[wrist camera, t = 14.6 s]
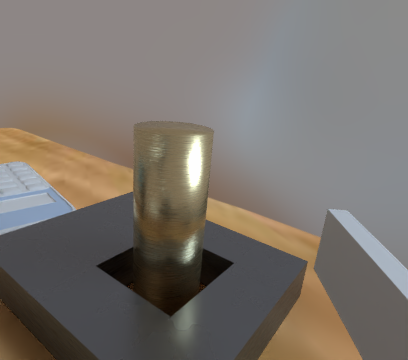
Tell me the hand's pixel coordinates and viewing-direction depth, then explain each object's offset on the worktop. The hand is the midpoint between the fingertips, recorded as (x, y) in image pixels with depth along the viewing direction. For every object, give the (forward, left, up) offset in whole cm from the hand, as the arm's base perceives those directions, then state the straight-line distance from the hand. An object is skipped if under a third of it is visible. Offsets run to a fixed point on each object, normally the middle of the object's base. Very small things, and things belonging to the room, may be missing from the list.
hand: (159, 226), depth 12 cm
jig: (-6, +5, -9) cm, 12 cm away
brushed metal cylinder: (-4, +5, -9) cm, 11 cm away
